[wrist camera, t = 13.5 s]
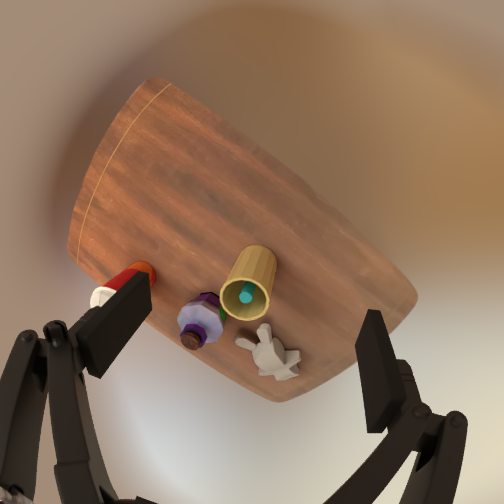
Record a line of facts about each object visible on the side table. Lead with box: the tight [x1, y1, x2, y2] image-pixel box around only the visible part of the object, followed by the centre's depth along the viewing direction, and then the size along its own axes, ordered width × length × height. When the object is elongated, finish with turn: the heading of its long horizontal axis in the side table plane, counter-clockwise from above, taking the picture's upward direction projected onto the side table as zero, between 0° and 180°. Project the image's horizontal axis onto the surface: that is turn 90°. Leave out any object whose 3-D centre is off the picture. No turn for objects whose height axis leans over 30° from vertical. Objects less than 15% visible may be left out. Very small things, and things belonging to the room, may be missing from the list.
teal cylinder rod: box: [239, 281, 256, 303], centre depth 45 cm, size 2×2×11 cm
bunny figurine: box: [234, 323, 301, 381], centre depth 55 cm, size 10×5×15 cm
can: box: [220, 245, 277, 321], centre depth 45 cm, size 7×7×12 cm
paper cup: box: [90, 261, 156, 308], centre depth 49 cm, size 8×8×14 cm
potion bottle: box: [176, 292, 226, 350], centre depth 50 cm, size 9×9×12 cm
